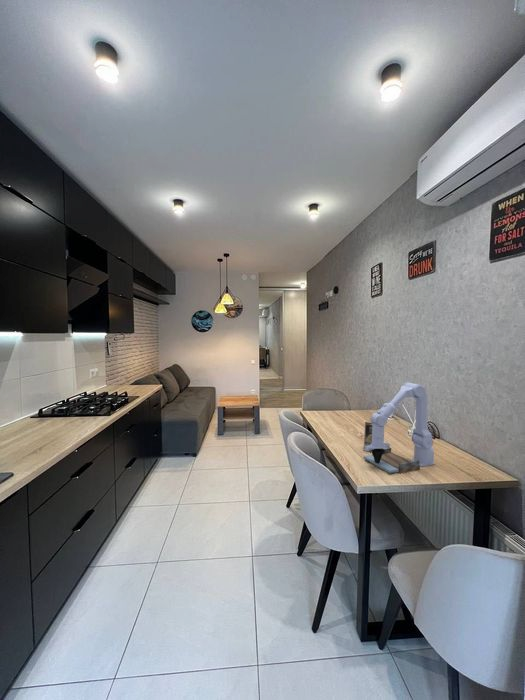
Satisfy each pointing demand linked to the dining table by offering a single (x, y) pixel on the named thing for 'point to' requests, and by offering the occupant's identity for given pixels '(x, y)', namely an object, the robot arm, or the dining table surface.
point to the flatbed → (399, 461)
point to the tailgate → (382, 464)
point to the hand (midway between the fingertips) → (377, 462)
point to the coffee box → (368, 435)
